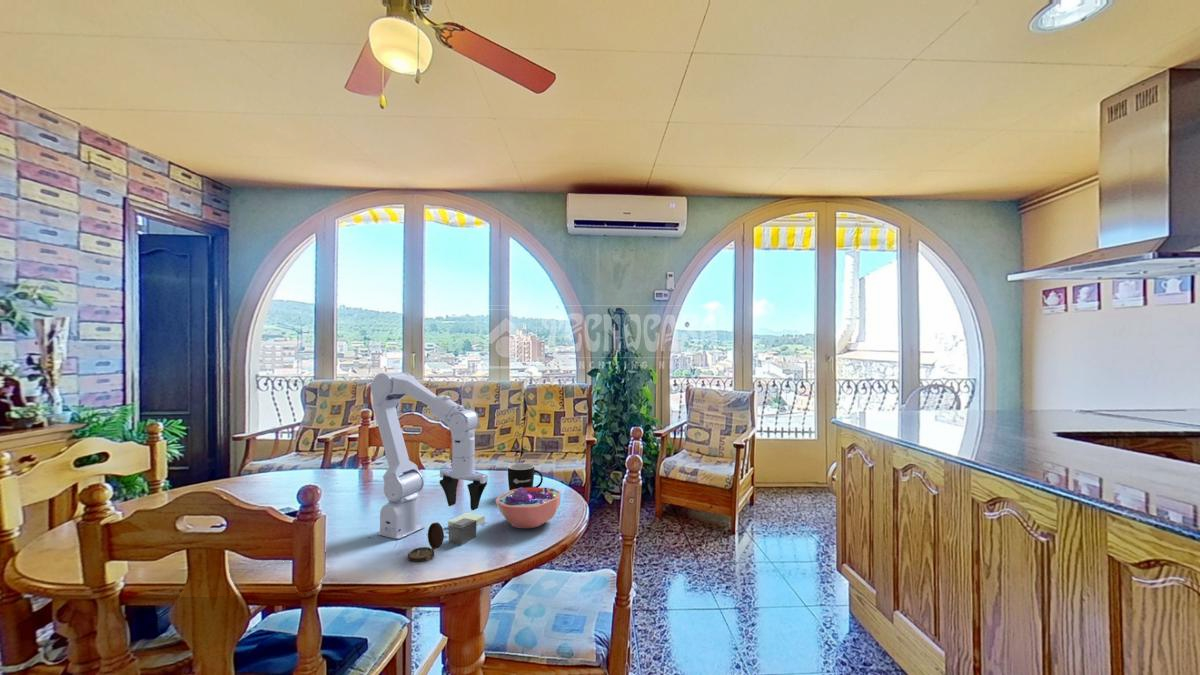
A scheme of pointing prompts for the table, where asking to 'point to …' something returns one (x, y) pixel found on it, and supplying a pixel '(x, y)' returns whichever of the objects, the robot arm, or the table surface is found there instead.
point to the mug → (522, 476)
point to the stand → (467, 515)
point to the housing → (462, 531)
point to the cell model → (529, 506)
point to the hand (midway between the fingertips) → (463, 507)
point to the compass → (434, 540)
